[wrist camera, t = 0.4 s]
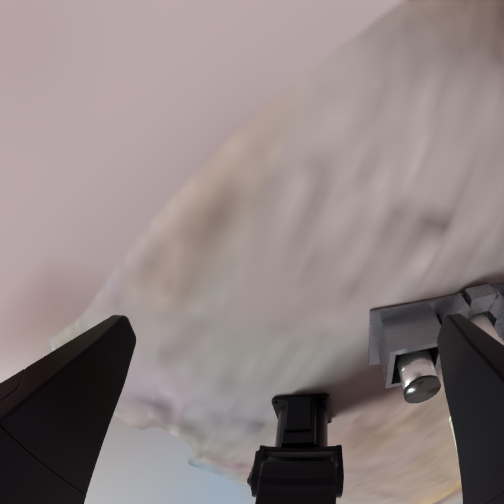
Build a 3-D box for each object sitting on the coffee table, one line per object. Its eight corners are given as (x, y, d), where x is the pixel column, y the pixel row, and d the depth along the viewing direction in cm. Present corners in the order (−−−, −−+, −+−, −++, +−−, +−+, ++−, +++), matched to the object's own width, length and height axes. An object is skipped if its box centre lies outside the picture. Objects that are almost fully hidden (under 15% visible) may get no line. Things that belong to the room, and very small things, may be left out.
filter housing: (527, 326, 22) (542, 350, 19) (368, 367, 27) (373, 400, 24) (547, 264, 19) (568, 287, 15) (369, 303, 23) (378, 338, 20)
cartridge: (479, 331, 23) (504, 381, 17) (450, 338, 24) (472, 393, 18) (487, 302, 21) (518, 354, 15) (457, 310, 22) (485, 366, 16)
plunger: (425, 361, 22) (436, 398, 19) (393, 367, 23) (402, 406, 19) (430, 337, 21) (444, 376, 17) (396, 344, 22) (407, 384, 18)
